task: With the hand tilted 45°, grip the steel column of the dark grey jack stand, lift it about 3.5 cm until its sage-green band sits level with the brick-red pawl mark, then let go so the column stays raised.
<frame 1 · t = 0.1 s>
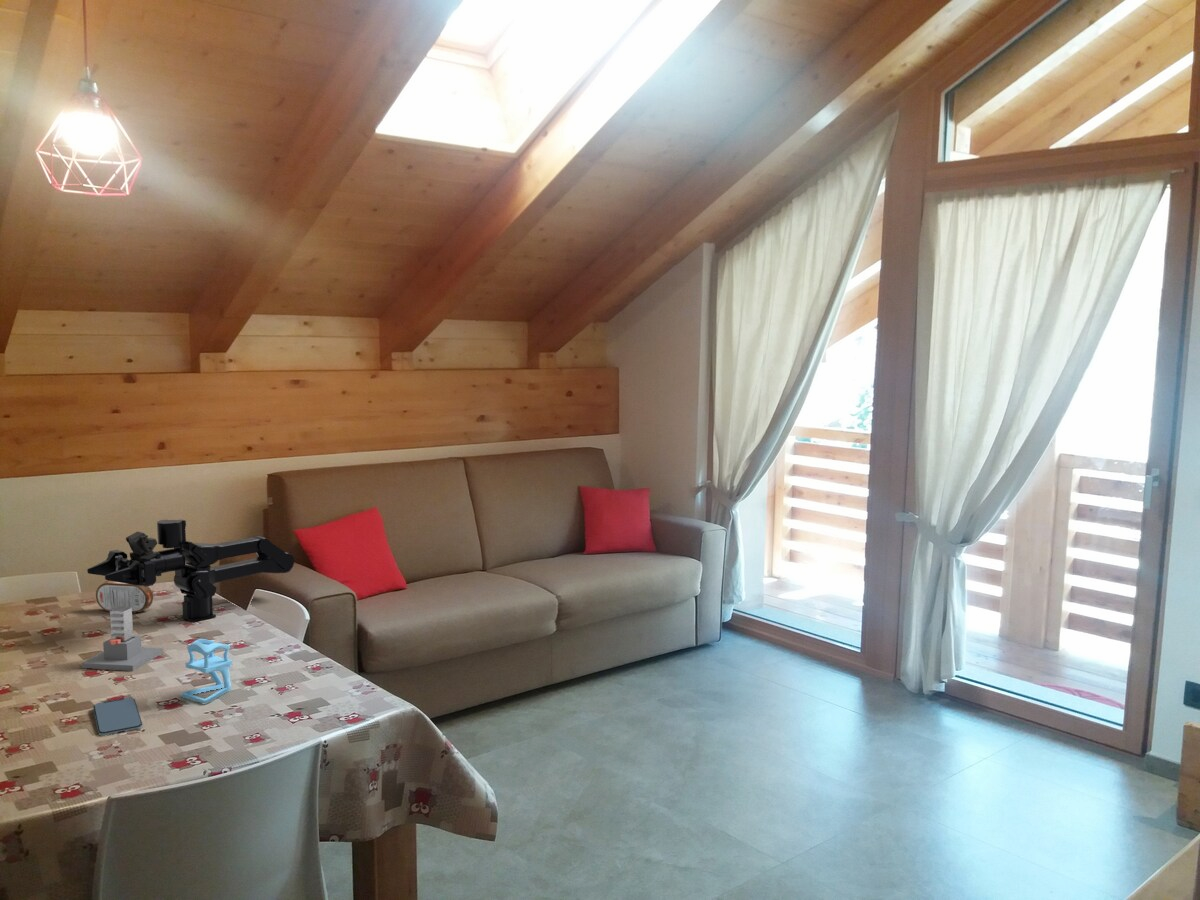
hand: (96, 574, 225), 17 cm above the table, tool horizontal, fingers open, 9 cm apart
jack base: (123, 660, 214), on the table
column: (121, 632, 213), point 7 cm above the table, slide at 0.0 cm
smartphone: (117, 722, 182), on the table
light blue holder stand: (210, 695, 195), on the table
tin: (124, 612, 252), on the table
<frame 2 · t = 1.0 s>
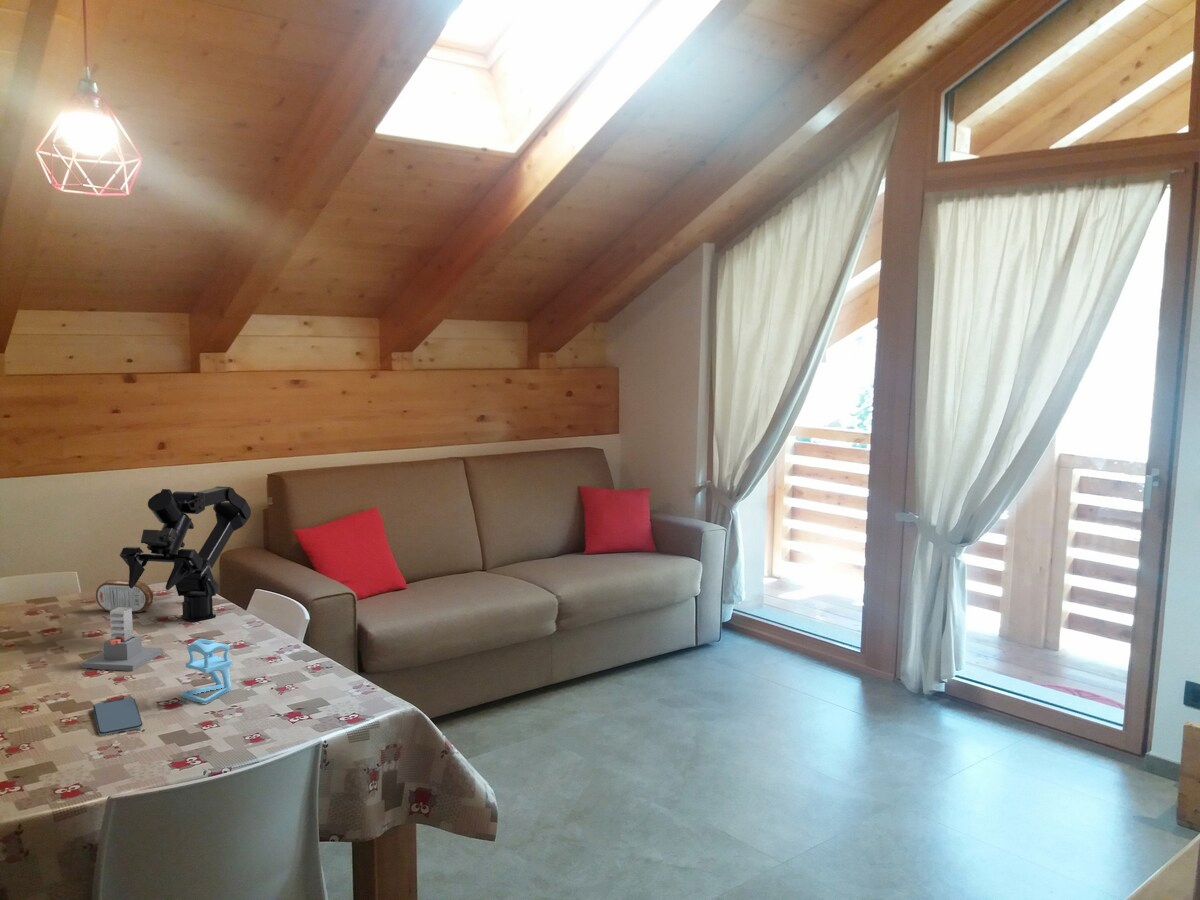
hand: (148, 588, 224), 14 cm above the table, tool tilted 45°, fingers open, 9 cm apart
nothing on the table moved.
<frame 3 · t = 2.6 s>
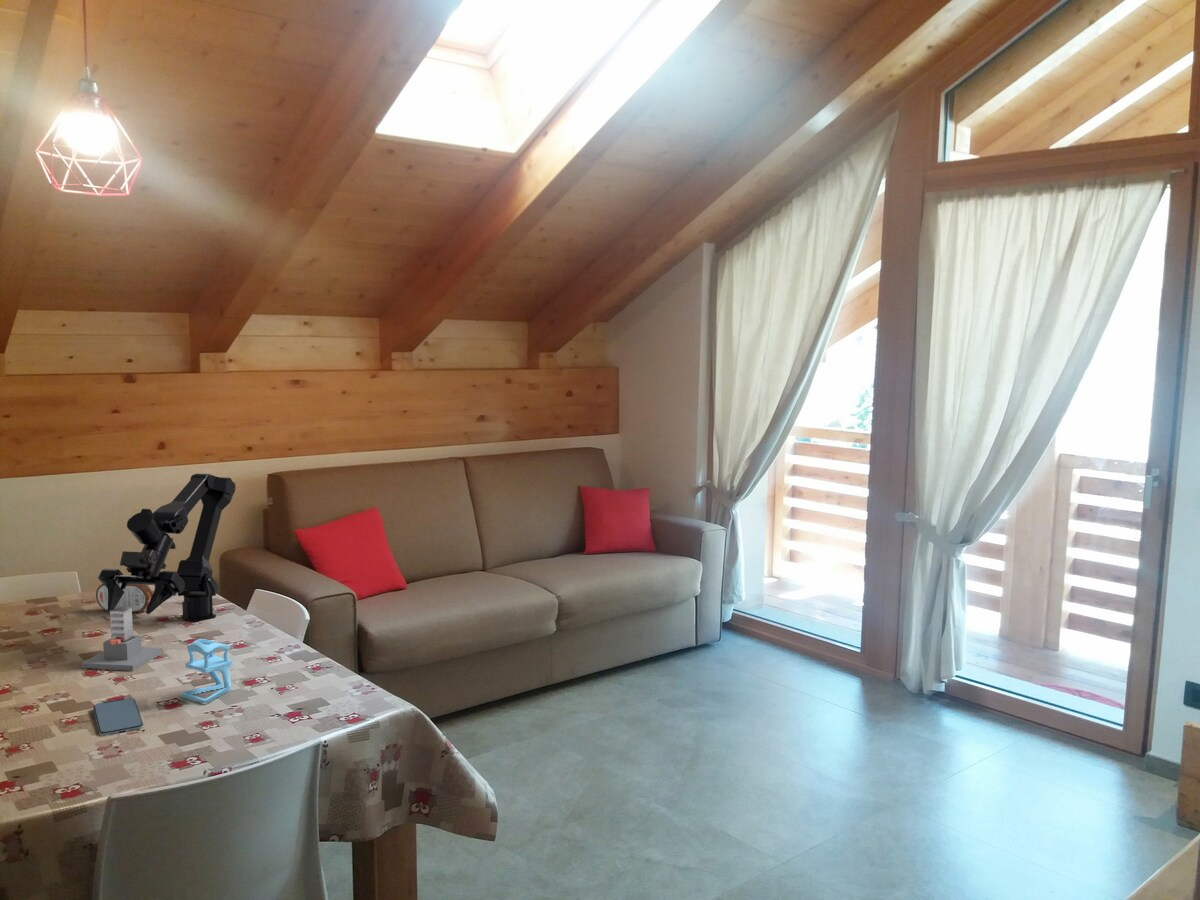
hand: (128, 612, 216), 10 cm above the table, tool tilted 45°, fingers open, 9 cm apart
nothing on the table moved.
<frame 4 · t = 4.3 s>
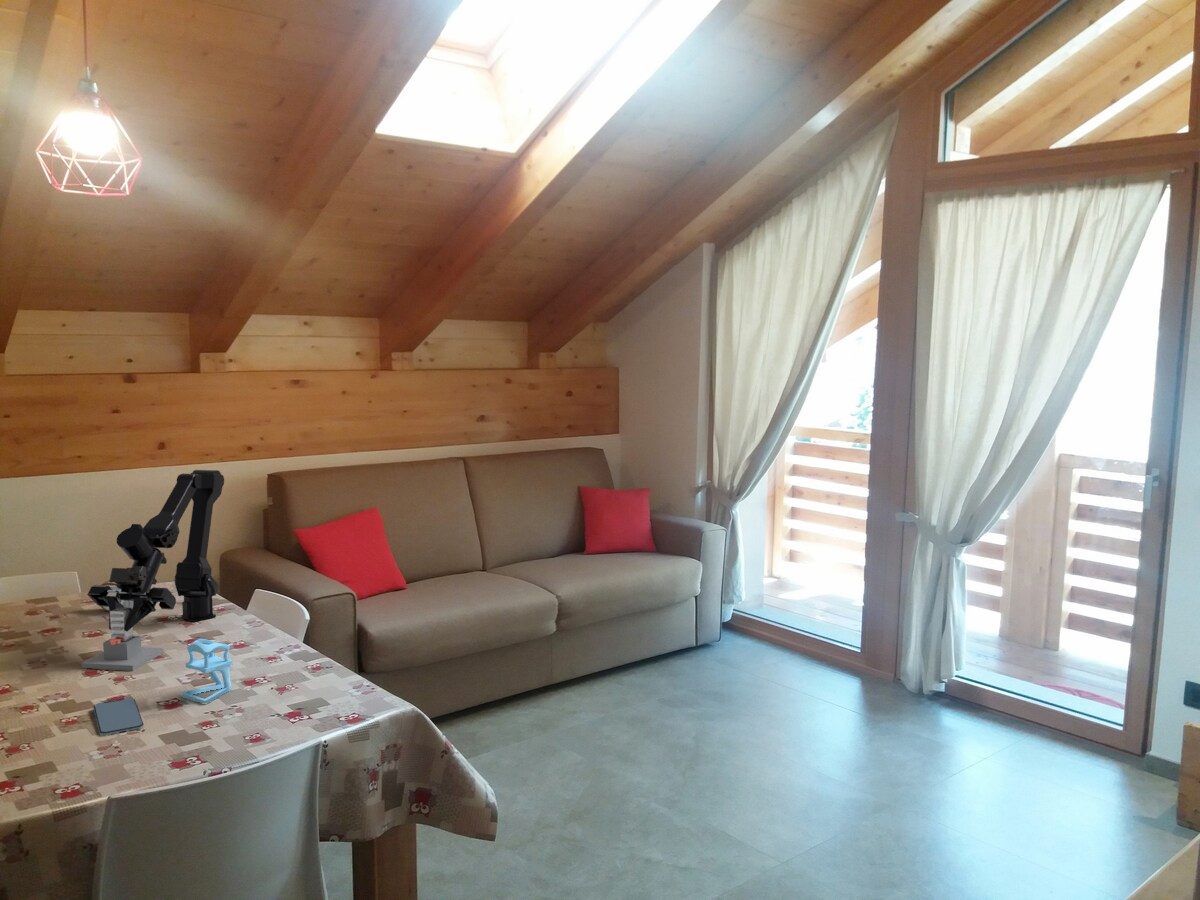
hand: (118, 630, 212), 8 cm above the table, tool tilted 45°, fingers closed on column, 3 cm apart
column: (121, 632, 213), point 7 cm above the table, slide at 0.0 cm, touching gripper
everything else where it was.
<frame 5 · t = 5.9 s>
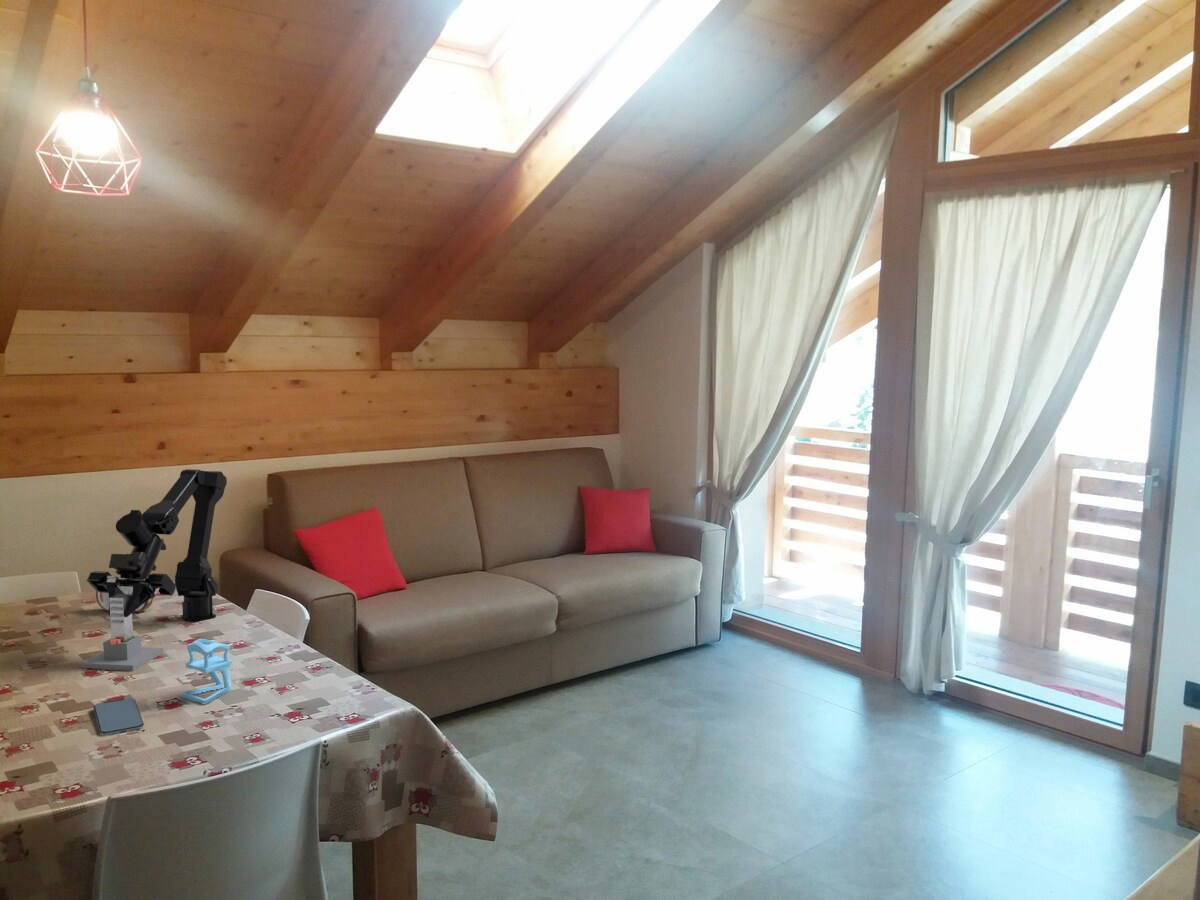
hand: (117, 616, 212), 11 cm above the table, tool tilted 45°, fingers closed on column, 3 cm apart
column: (120, 618, 213), point 10 cm above the table, slide at 3.1 cm, touching gripper
everything else where it was.
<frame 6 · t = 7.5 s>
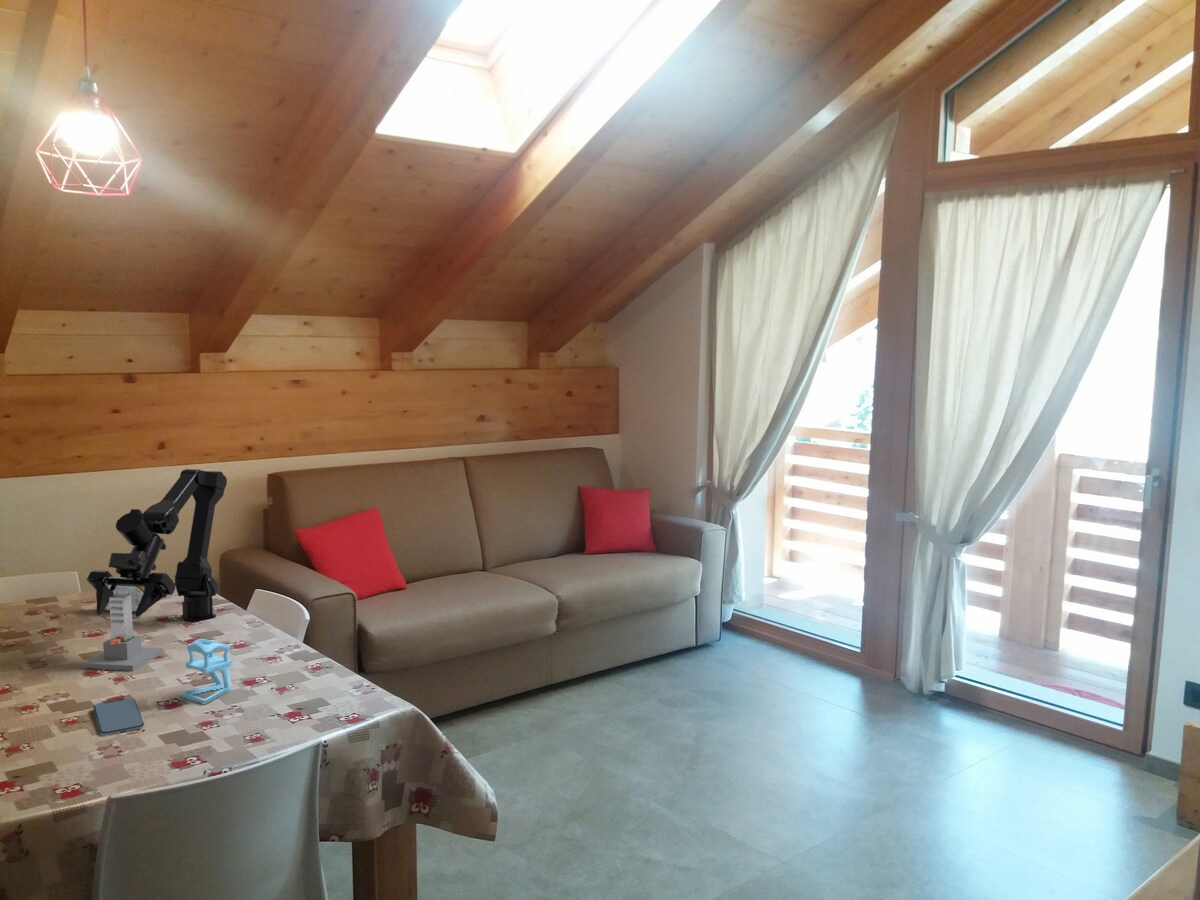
hand: (117, 615, 212), 11 cm above the table, tool tilted 45°, fingers open, 9 cm apart
column: (120, 618, 213), point 10 cm above the table, slide at 3.2 cm
everything else where it was.
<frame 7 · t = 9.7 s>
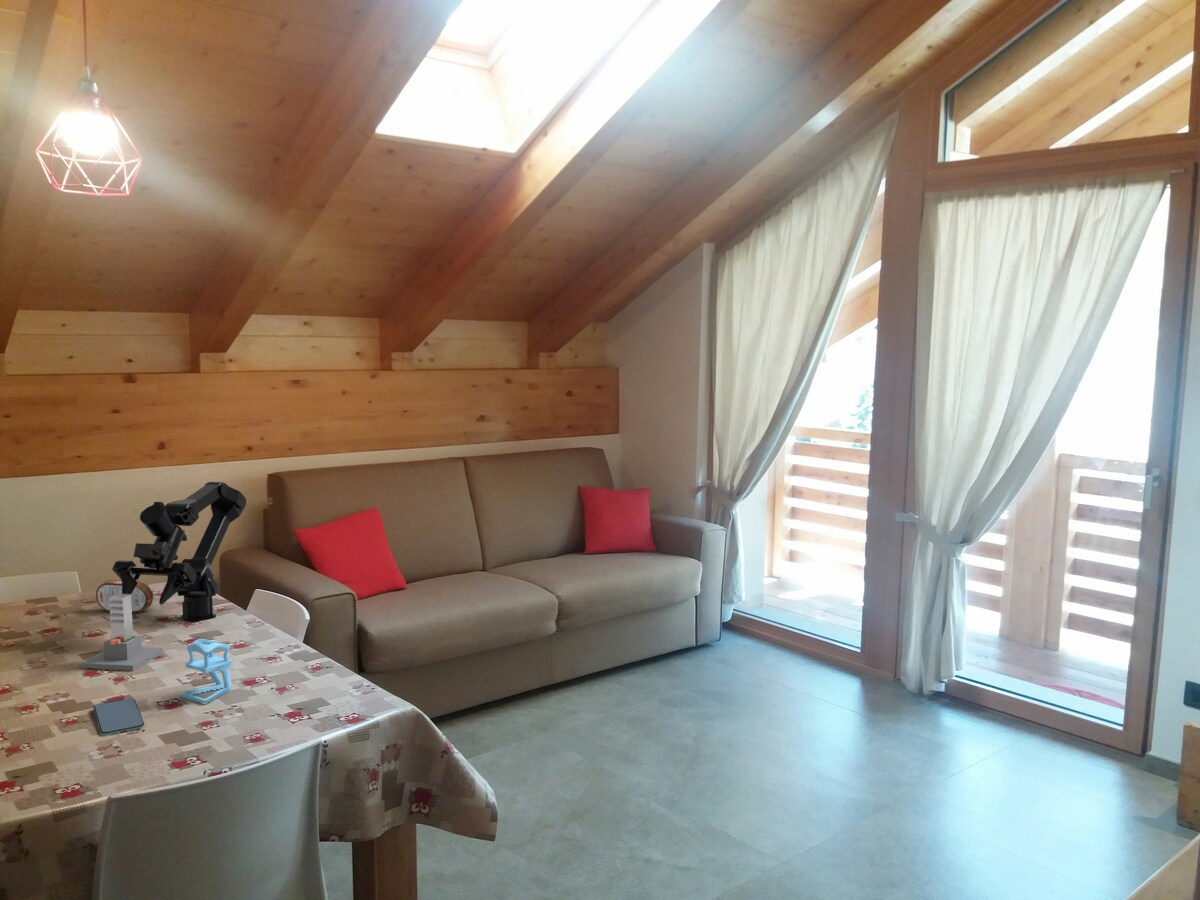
hand: (141, 603, 221), 11 cm above the table, tool tilted 45°, fingers open, 9 cm apart
nothing on the table moved.
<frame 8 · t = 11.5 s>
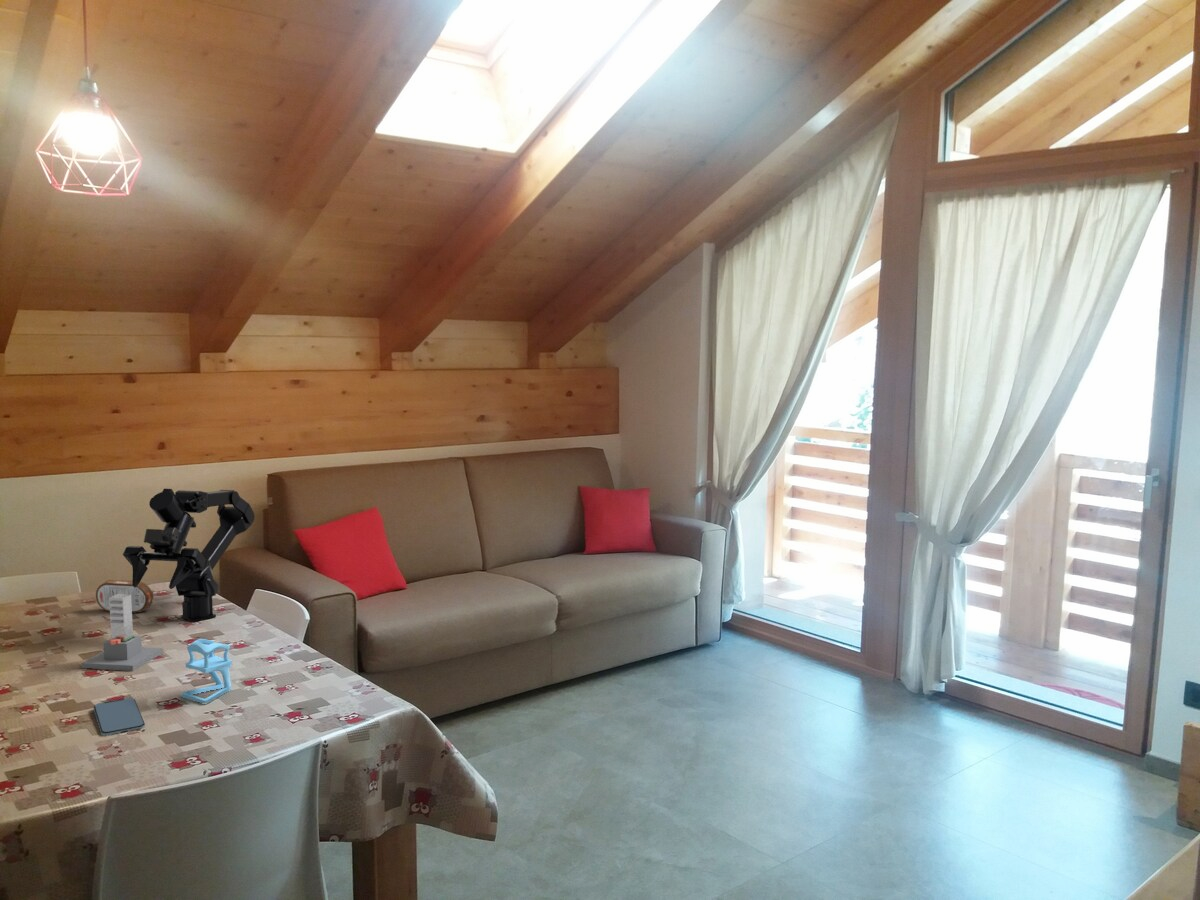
hand: (152, 587, 226), 14 cm above the table, tool tilted 45°, fingers open, 9 cm apart
nothing on the table moved.
at the end: column slide at 3.2 cm; the gripper is holding nothing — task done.
